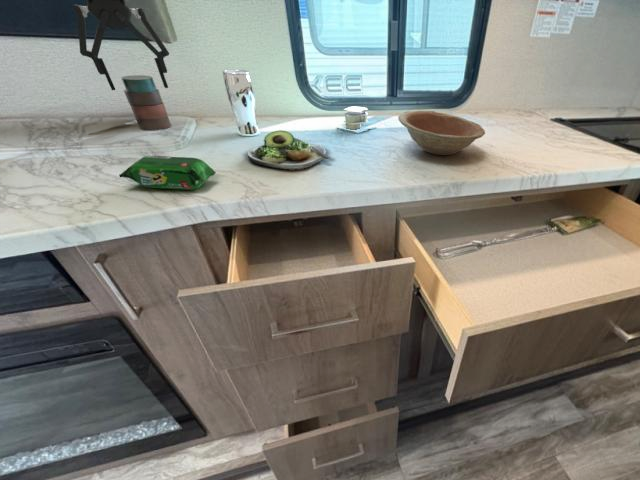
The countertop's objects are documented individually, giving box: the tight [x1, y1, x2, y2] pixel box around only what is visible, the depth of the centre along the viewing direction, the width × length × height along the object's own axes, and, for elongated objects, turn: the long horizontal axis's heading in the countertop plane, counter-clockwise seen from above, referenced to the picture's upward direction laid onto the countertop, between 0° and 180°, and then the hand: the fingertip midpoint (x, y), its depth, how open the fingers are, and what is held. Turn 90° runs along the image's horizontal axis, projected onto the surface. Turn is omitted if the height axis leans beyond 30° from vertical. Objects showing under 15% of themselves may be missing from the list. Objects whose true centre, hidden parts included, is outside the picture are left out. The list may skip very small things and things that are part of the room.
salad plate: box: [246, 130, 331, 171], centre depth 82 cm, size 19×18×5 cm
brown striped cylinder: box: [123, 88, 172, 131], centre depth 94 cm, size 8×8×9 cm
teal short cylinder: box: [120, 74, 158, 93], centre depth 90 cm, size 7×7×3 cm
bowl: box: [397, 110, 486, 156], centre depth 92 cm, size 24×24×8 cm
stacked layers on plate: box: [335, 105, 369, 130], centre depth 105 cm, size 10×9×6 cm
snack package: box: [118, 155, 216, 191], centre depth 66 cm, size 7×16×5 cm, turn 92°
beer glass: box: [221, 69, 261, 137], centre depth 92 cm, size 7×7×15 cm
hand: (140, 88), depth 90 cm, fingers open, 11 cm apart
